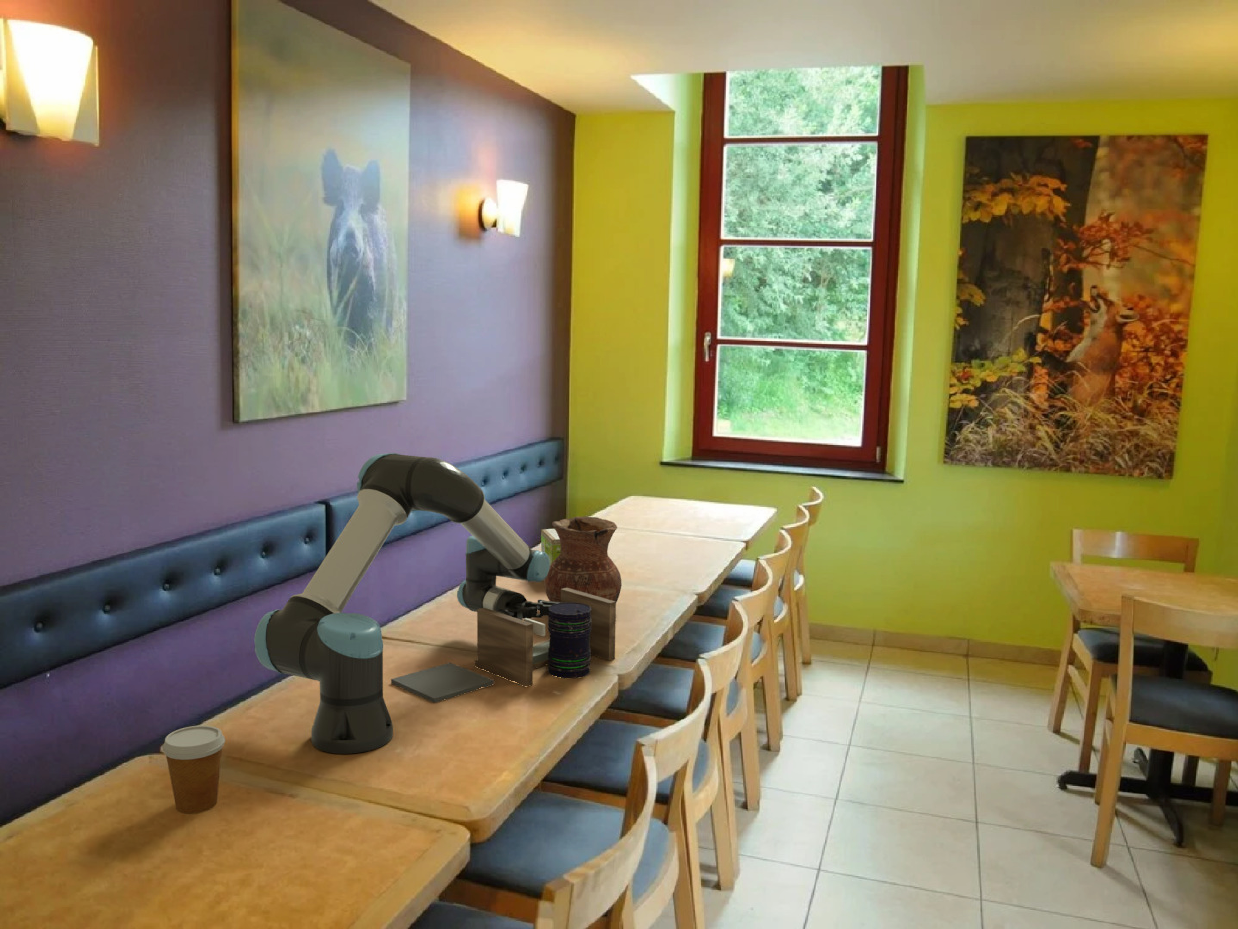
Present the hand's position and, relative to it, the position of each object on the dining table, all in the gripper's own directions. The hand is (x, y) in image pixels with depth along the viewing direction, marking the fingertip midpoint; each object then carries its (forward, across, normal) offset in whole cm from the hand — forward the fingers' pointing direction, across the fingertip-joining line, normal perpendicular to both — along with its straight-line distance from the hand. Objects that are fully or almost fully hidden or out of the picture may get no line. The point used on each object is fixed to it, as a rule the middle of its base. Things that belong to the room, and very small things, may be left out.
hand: (566, 624), depth 238 cm
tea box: (-60, -55, -11) cm, 82 cm away
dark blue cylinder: (+2, +1, -11) cm, 11 cm away
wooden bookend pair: (-6, 0, -11) cm, 12 cm away
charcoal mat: (-11, +26, -11) cm, 31 cm away
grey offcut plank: (-8, 0, -10) cm, 13 cm away
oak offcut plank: (-8, 0, -11) cm, 14 cm away
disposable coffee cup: (+6, +90, -11) cm, 90 cm away
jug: (-31, -36, -11) cm, 48 cm away
